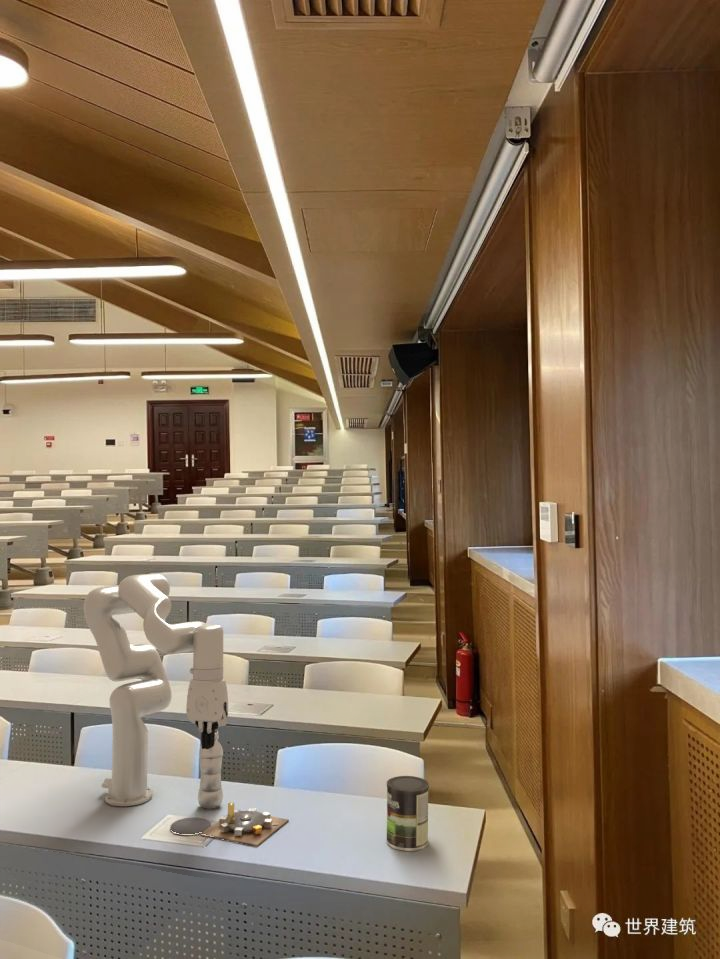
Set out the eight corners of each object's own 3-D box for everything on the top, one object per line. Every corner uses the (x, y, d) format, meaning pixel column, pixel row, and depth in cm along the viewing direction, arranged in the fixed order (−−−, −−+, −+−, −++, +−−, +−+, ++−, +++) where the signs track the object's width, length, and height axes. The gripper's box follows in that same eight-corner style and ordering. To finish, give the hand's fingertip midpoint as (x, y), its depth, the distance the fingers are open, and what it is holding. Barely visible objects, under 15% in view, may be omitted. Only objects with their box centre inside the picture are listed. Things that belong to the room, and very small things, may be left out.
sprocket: (208, 830, 182) (209, 805, 183) (237, 811, 194) (237, 787, 195) (255, 840, 177) (255, 813, 177) (281, 819, 189) (281, 794, 190)
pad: (162, 831, 183) (162, 829, 183) (186, 816, 193) (186, 814, 193) (195, 838, 180) (195, 836, 180) (218, 823, 189) (218, 821, 189)
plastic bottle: (217, 812, 195) (218, 736, 196) (193, 810, 197) (194, 734, 198) (226, 803, 202) (227, 729, 203) (203, 801, 203) (204, 727, 204)
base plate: (200, 835, 181) (200, 832, 181) (235, 811, 196) (235, 808, 196) (257, 847, 175) (257, 844, 175) (288, 821, 190) (288, 818, 190)
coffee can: (396, 854, 172) (396, 793, 173) (379, 836, 182) (380, 778, 182) (436, 847, 176) (436, 787, 176) (417, 830, 185) (417, 773, 186)
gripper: (174, 674, 187) (174, 748, 186) (225, 679, 181) (224, 755, 180) (192, 669, 194) (192, 740, 193) (241, 673, 188) (241, 746, 187)
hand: (207, 747), depth 187 cm, fingers closed
